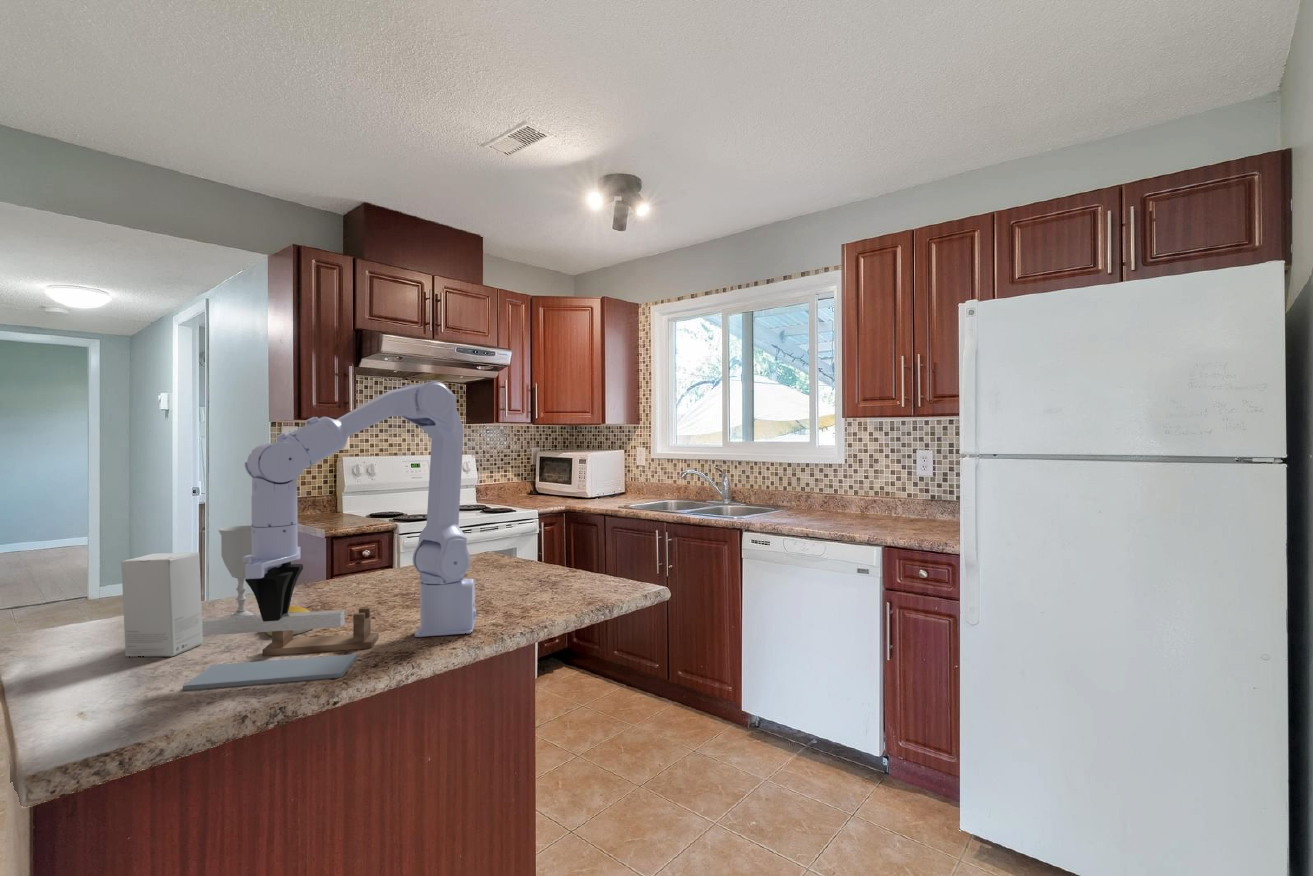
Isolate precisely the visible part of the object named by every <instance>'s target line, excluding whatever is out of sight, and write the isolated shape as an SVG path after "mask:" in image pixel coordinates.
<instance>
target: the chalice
mask: <svg viewBox="0 0 1313 876" xmlns="http://www.w3.org/2000/svg"><path fill="white" fill-rule="evenodd" d="M217 530H218V532H219V534H220V536H221V538H220V539H221V540H220V541H221V543H220V547H221V549H220V551H221V553H220V555H221V558H222V560H223V563H224V566H225V567H226V569H227V570H228V572H229V574H230V577H232V578H234V579H237V583H238V584H237V588H236V589H235V590H236V591H237V594H238V595H237V597H236V599H235V601H236V602H237V604H238V606H237V609H236V610H235V612H233V613H232V612H231V614H230V616H247V615H254V612H252V611H251V610H247V608H246V607H245V602H246V600H247V597H246V596H245V591H246V589H247V587H246V584H245V565H247V564H248V563H249V562H243V557H245V556H247V555H252V525H238V526H237V525H235V526H226V527H221V528H218V529H217Z"/></svg>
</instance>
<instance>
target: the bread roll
mask: <svg viewBox="0 0 1313 876" xmlns="http://www.w3.org/2000/svg"><path fill="white" fill-rule="evenodd" d="M288 612H293V613H299V612H311V611H310V610H309V609H307V608H305V607H302V606H298V605H297V606H294V605H290V606H289V610H288ZM310 630H311V631H312V629H302V630H293V636H295V635H300V634H303V633H306V632H309V631H310ZM265 633H266V635H268V636H270V637H272V631H270V632H265Z"/></svg>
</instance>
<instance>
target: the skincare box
mask: <svg viewBox="0 0 1313 876" xmlns="http://www.w3.org/2000/svg"><path fill="white" fill-rule="evenodd" d="M200 563H201V561H200V552H198V551H197V552H172V553H171V552H166V553H165V552H163V553H162V552H161V553H159V552H158V553H157V552H155V553H150V554H146V555H143V556H139V557H134V558H130V559H125V560H123V561H121V562H120V564H121V580H122V581H121V582H122V585H121V586H122V603H123V604H122V605H123V623H124V624H123V625H124V629H123V630H124V646H125V647H124V648H125V657H126V656H127V657H126V658H130V657H131V658H132V657H134V658H135V657H137V658H138V656H141V657H142V656H144V657H174V656H178V655H179V654H182V653H184V652H187V651H190V650H191V649H192V650H193V649H194V648H197V647H198V646H200V645H202V644H203V643H204V636H202V622H203V611H202V610H203V608H202V607H203V606H202V585H201V565H200ZM129 656H130V657H129Z"/></svg>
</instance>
